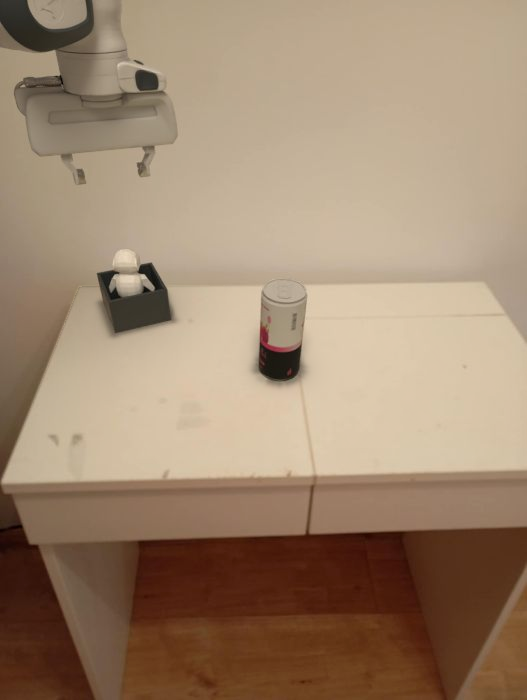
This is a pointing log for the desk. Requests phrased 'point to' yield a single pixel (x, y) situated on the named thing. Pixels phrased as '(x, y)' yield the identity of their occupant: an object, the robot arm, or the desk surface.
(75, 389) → the desk surface
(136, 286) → the figurine
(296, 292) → the beverage can
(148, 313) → the dark grey hollow box
